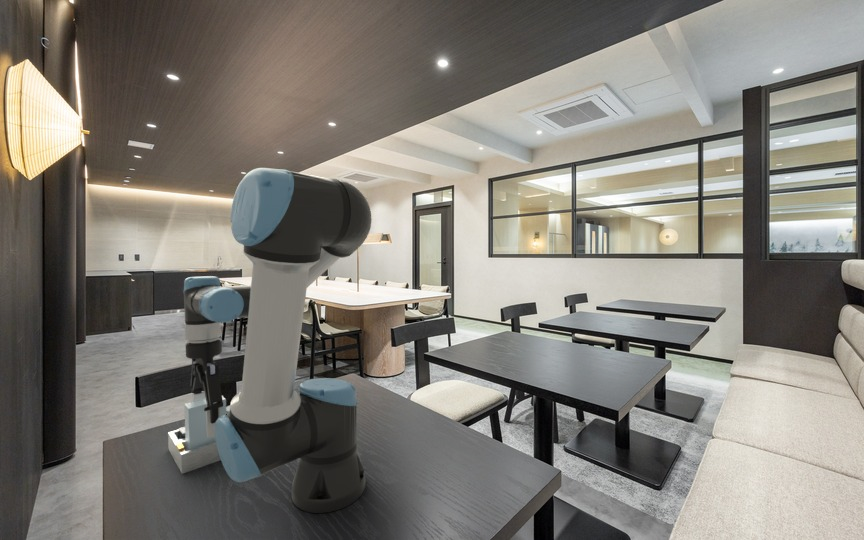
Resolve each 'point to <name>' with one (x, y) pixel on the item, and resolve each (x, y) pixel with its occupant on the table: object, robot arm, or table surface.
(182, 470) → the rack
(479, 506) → the table surface
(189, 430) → the block
